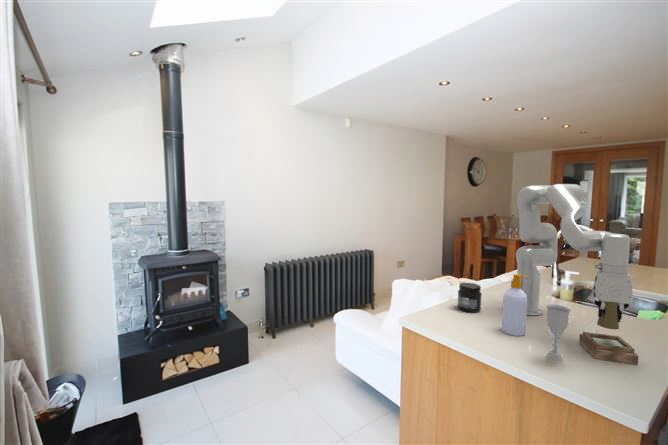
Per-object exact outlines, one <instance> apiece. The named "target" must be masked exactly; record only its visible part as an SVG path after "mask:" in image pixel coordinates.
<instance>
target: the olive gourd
mask: <svg viewBox="0 0 668 445" xmlns="http://www.w3.org/2000/svg"><path fill="white" fill-rule="evenodd" d="M604 303H605V308H604V310H606V312H605V315H604V319H603V312H602V316H601V317H599V316H598V319H597V324H596V325H597V326H599V327H602V328H604V329H608V330H619V329H620V324H619V323H620V322H618V310H617V306H618V305H619V303H615V302H604Z"/></svg>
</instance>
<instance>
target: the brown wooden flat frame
mask: <svg viewBox="0 0 668 445" xmlns="http://www.w3.org/2000/svg"><path fill="white" fill-rule="evenodd" d="M578 341H579V343H580V344H581V345H582V346H583V347H584V348H585V350H586V351H587V352H588V353H589V354H590V356H591V357H592V358H593V359H595V360H603V361H608V362H615V363H623V364H628V365H629V364H630V365H639V354H637V353H636V352H635V348H634V347H632V345H630V344H629V343H628V342H627V341H626V340H624V339H623V338H622V337H620V336H619V335H612V334H603V333H597V332H588V331H583V332H582V333H579V339H578Z"/></svg>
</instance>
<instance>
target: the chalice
mask: <svg viewBox="0 0 668 445" xmlns="http://www.w3.org/2000/svg"><path fill="white" fill-rule="evenodd" d="M545 307H546V309H547V311H546V322H547V325H548V328H549V330H550V332H551V334H553V335H554V337H553V338H552V340H553V343H552V346H553V349H551V350H550V351H548V353H546V356H545V358H546V359H547V361H548V360H549V361H551V362H553V363H557V364H558V363H560V364H562V363H564V359H563V357H562V354H561V353H560V352H559V351H558V347H559V345H558V342H559V336H561V335H562V334H564V332H565V330H566V328H567V327H568V325H569V316H570V312H571V308H569V307H567V306H565V305H562V304H561V305H560V304H557V303H556V304H555V303H547V304H545Z"/></svg>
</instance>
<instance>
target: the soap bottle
mask: <svg viewBox="0 0 668 445" xmlns="http://www.w3.org/2000/svg"><path fill="white" fill-rule="evenodd" d="M512 275H513V278H512V280H511V282H510V288H508V289H507V290H505V291H504V293H503V298H502V318H501V331H502V332H503V333H505V334H508V335H511V336H515V337H516V336H517V337H521V336H524V335H526V330H527V329H526V327H527V316H528V315H527V296H526V294H525V293H524V291H522V290H521V282H520V280H519V278H527V279H529V277H526V276H521V275H519V274H517V273H513V274H512Z"/></svg>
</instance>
